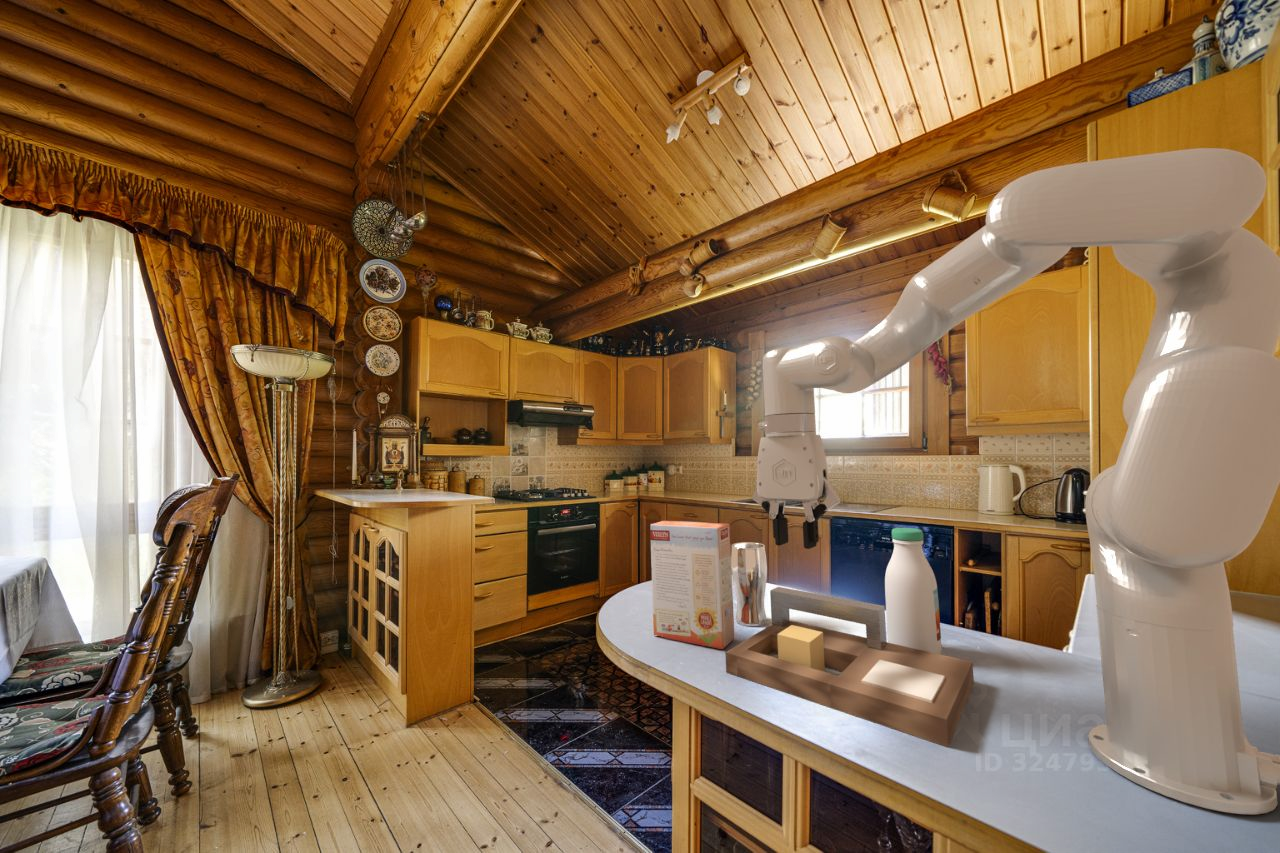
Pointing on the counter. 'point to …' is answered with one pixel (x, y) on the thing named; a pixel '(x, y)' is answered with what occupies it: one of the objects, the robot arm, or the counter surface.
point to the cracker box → (692, 582)
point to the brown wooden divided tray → (866, 680)
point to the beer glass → (749, 582)
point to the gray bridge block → (830, 611)
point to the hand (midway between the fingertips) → (795, 544)
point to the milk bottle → (911, 595)
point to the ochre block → (802, 647)
